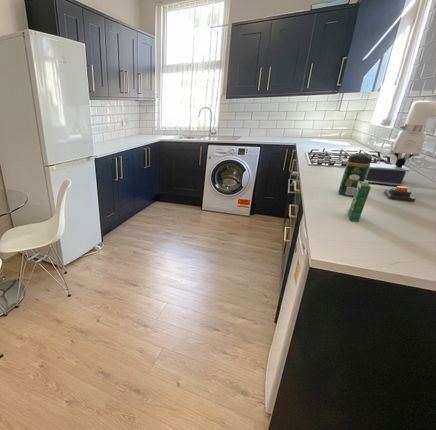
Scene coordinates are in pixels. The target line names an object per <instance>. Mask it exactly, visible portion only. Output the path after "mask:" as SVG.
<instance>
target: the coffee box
mask: <svg viewBox="0 0 436 430" xmlns="http://www.w3.org/2000/svg"><path fill="white" fill-rule="evenodd" d="M368 182H369V181H365V182H362V181H359V182H358V185H357V188H356V191H355V194H354V196H352V201H351V204H350V207H349V210H348V213H347V215H349V216H348V220H349V221H350V220H353V221H352V222H356V221H358V222H360V219H361V217H362V213H363V210H364V207H365V204H366V202H367V199H368V197H369V193H370V191H371V188H372V186H371V184H368Z"/></svg>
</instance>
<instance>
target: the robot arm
mask: <svg viewBox="0 0 436 430" xmlns="http://www.w3.org/2000/svg"><path fill="white" fill-rule="evenodd" d="M430 118H436V101H433V100H416V101H413V102H412V104H411V106H410V108H409V111H408V113H407V116H406V119H405V121H404V124H402V125H399V127H398V129H400V130H399V132H398V133H397V135H396V137H395V139H394V141H393V143H392V145H391V147H390V151H389V152H388V153H389V155H393V156H394V157H396V161H395V163H394V165H396V167H401V168H402V166H405V164H406V161H407V160H409V159H410V158H412V157H419V156H420V154H421V152H422V150H423V147H424V144H425V141H426V136H427V132H425V130H426V128H427V125H428V123H429V121H430ZM403 154H404V155H403Z"/></svg>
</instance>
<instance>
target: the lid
mask: <svg viewBox="0 0 436 430" xmlns="http://www.w3.org/2000/svg"><path fill="white" fill-rule="evenodd" d="M369 168H370V169H382V170H396V171H405V172H410V169H409V168H408V167H406V166H405V165H404V166H402V168H401V167H396V165H395V164H388V163H376V162H375V163H374V162H371V163H370V166H369Z"/></svg>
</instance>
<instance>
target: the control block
mask: <svg viewBox="0 0 436 430" xmlns="http://www.w3.org/2000/svg"><path fill="white" fill-rule="evenodd" d="M395 189H396V187H392V188H391V187H390V189H384V191H383V194H384V195H385V197H386V198H387V199H388V200H394V201H399V202H406V203H407V202H408V203H415V201H416V198H415V197H414V196H413V195H412V193H413V192H412V191H411V190H409V189H407V192H403V191H397V190H395Z"/></svg>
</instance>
